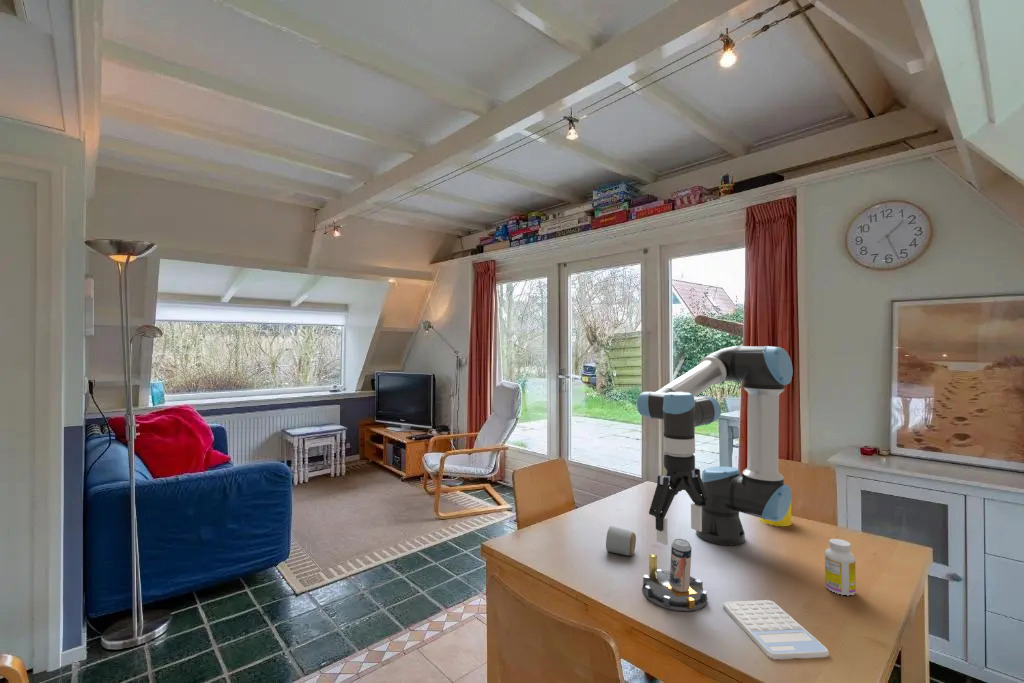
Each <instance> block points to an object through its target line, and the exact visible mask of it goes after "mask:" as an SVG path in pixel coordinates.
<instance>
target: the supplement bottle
mask: <svg viewBox="0 0 1024 683" xmlns="http://www.w3.org/2000/svg"><path fill="white" fill-rule="evenodd" d="M828 544H829V547H828V548H827V549H825V551H824V581H825V583H824V584H825V587H826V589H827V588H828V589H827V590H828V591H830V592H831V591H832V593H833V592H835V593H834V594H836V593H837V594H836V595H839V594H841V595H840V596H843V595H847V596H846V597H850V596H849V595H852V596H854V595H855V594H856V589H857V588H856V586H857V585H856V584H857V582H856V580H857V579H856V557H855V555H854V554H853V553H852V552H851V549H852V546H851V543H850V542H848V541H847V540H845V539H839V538H831V539H829V540H828Z"/></svg>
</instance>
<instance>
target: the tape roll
mask: <svg viewBox="0 0 1024 683" xmlns="http://www.w3.org/2000/svg"><path fill="white" fill-rule="evenodd" d="M759 521H761V522H762V523H763V522H764V524H765V523H766V524H765V525H768V524H770V525H769V526H772V525H775V526H774V527H777V526H789V525H791V526H792V502H791V503H790V507H789V510H788V512H787V514H786V515H785V517H784V518H783V519H782V520H780V521H771V520H764V519H762V518H759ZM789 527H790V526H789Z"/></svg>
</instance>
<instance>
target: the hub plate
mask: <svg viewBox="0 0 1024 683" xmlns="http://www.w3.org/2000/svg"><path fill="white" fill-rule="evenodd" d="M645 586H646V585H644V584H642V593H643V596H644V597H645V598H646V599H647V600H648V601H649V602H650V603H652V604H654V605H656V606H658V607H660V608H662V609H665V610H668V611H672V612H680V613H689V612H690V613H691V612H696V611H699V610H701V609H703V608H705V607H706V605H707V604H708V599H707V600H706V602H705V601H701V602H700V603H699V604H697V605H695V608H692V609H689V608H688V607H679V606H673V605H670V607H668V606H665V605H664V603H662V602H660V601H658V600H656V599H655V598H653V597H652V596H647V595H646V594H645Z"/></svg>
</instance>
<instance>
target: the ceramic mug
mask: <svg viewBox="0 0 1024 683" xmlns="http://www.w3.org/2000/svg"><path fill="white" fill-rule="evenodd" d="M636 542H637V536H636V533H635V532H634V531H631V530H629V529H625V528H621V527H617V526H613V525H610V526H608V529H607V532H606V538H605V549H606V552H608V553H613V554H619V555H624V556H633V555H634V553H635V550H636Z"/></svg>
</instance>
